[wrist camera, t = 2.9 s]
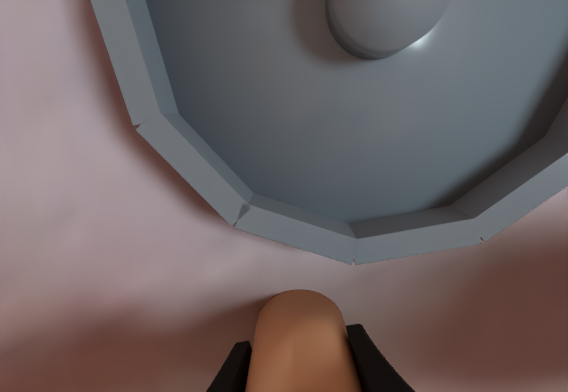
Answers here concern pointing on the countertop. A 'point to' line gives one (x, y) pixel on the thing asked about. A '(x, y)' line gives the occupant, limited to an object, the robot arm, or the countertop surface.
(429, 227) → the groove tray
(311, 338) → the bead
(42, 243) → the countertop surface
